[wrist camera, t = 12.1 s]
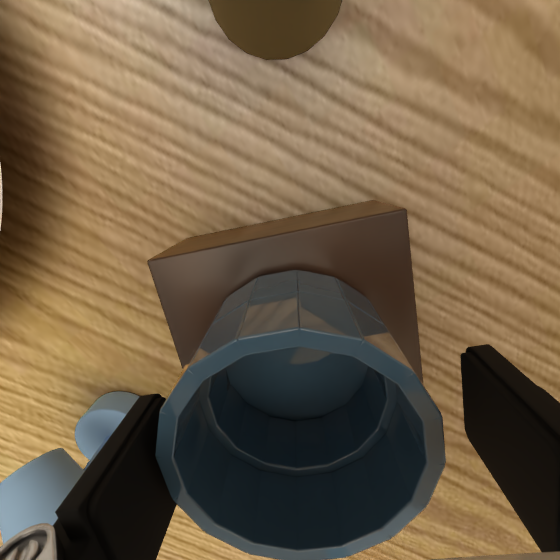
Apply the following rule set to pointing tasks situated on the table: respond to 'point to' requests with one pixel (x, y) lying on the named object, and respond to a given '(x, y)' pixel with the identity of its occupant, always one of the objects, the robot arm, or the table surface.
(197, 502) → the small cup
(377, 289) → the stand
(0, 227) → the cream plate
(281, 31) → the cork
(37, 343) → the table surface
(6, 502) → the spotlight
